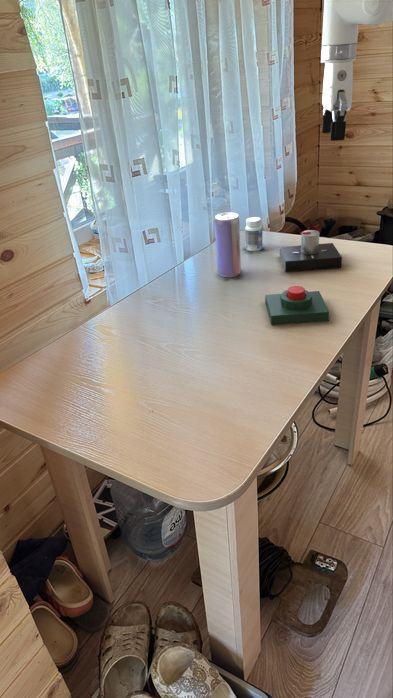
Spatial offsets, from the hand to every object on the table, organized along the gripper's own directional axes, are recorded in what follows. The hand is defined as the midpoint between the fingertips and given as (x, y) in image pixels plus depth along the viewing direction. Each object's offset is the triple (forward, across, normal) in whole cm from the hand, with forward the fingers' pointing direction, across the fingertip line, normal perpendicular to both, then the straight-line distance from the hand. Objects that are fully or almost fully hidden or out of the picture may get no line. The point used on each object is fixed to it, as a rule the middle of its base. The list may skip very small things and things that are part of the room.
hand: (332, 136), depth 123 cm
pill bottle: (+30, +7, +18) cm, 36 cm away
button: (+26, -32, +13) cm, 43 cm away
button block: (+29, -32, +13) cm, 45 cm away
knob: (+26, -6, +5) cm, 28 cm away
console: (+30, -6, +5) cm, 31 cm away
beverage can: (+30, -10, +26) cm, 41 cm away
